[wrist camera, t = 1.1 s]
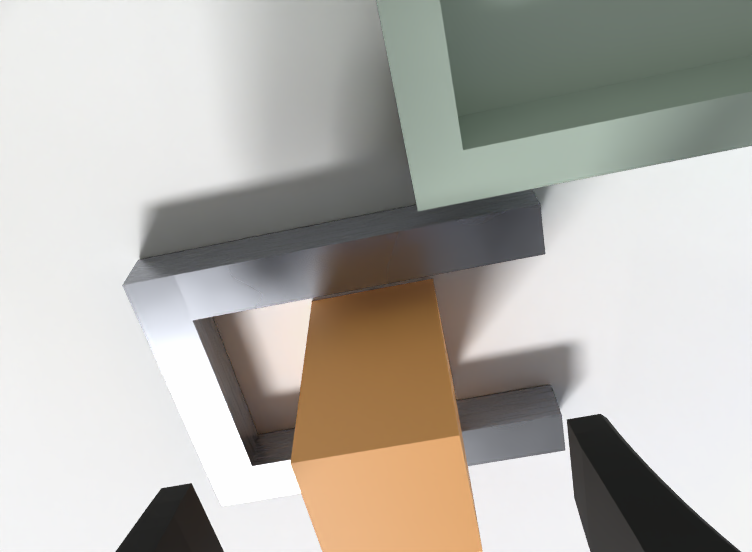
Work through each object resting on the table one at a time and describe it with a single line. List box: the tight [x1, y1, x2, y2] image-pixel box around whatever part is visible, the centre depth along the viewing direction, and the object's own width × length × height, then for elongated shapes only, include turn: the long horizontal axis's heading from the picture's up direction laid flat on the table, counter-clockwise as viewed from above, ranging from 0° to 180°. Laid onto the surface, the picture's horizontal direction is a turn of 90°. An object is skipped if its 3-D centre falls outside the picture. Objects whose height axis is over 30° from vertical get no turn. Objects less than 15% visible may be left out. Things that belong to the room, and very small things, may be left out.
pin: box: [290, 279, 482, 552], centre depth 15 cm, size 3×3×6 cm
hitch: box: [122, 189, 565, 506], centre depth 17 cm, size 9×7×1 cm
